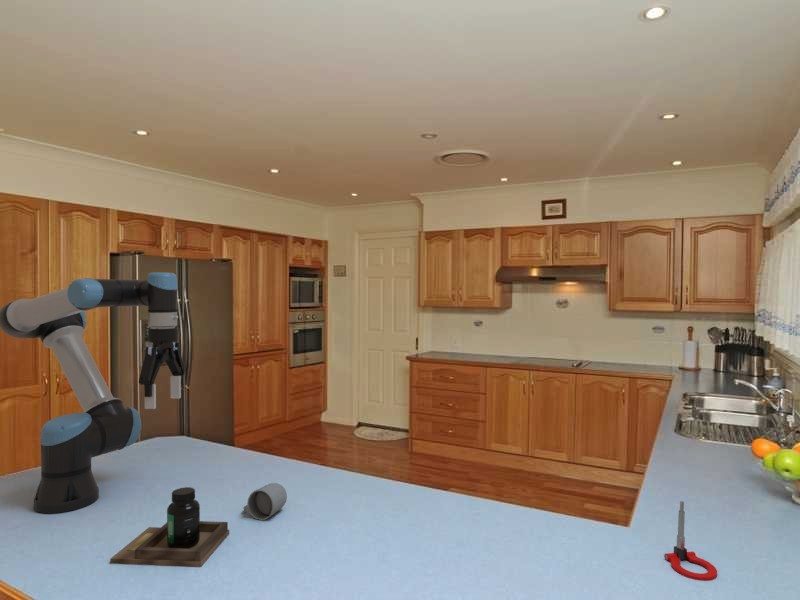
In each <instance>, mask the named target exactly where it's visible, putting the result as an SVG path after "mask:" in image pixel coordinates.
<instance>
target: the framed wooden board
mask: <svg viewBox="0 0 800 600" xmlns="http://www.w3.org/2000/svg"><path fill="white" fill-rule="evenodd" d="M228 524H229V523H228V521H210V520H209V521H205V520H204V521H202V520H200V540H199V542H198V544H197V545H195V546H194V547H192V548H189V549H182V548H169V547H168V545H167V522H165V523H164V524H163V525H162V526H161V527H156V526H155V527H153V526H148V527H147V528H146V529H145V530H143V531H142V532H141V533H140V534H139V535H138V536H136V537H135V538H134V539H133V540H131V541H130V542H129V543H127V544H126V545H125V546H124V547H123V548H122V549H121V550H119V551H118V552H117V553H116V554H114V555H113V556H112V557H111V558H110V559H109V560H110V561H109V562H110V564H119V565H143V566H145V565H146V566H148V565H149V566H167V567H168V566H171V567H192V568H193V567H195V568H201V567H203V565H204V564H205V563H206V562H207V561H208V560H209V558H210V557H211V556H213V554H214V552H216V550H217V549H218V548H219V547H220V546H221V544H222V543H224V541H225V540H226V539H227V537H228V536H229V535H230V529H228Z"/></svg>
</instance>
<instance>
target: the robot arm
mask: <svg viewBox="0 0 800 600" xmlns="http://www.w3.org/2000/svg"><path fill="white" fill-rule="evenodd" d="M177 279H178V278H177V275H176V274H175V272H161V271H157V272H154V271H153V272H149V273H148V274H147V278H146V279H119V278H118V279H116V278H115V279H108V278H107V279H105V278H92V277H91V278H90V277H89V278H76V279H74V280H73V281H71V283H70V284H69V285H68V287H65V288H62V289H60V290H56V291H54V292H53V291H52V292H49V293H47V294H44V295H40V296H37V297H35V298H31V299H27V298H20V299H16V300H13V301H10V302H8V303H6V304H4V305H3V306H2V307H1V308H0V329H1V331H3V333H5V334H6V335H8V336H11V337H12V338H16V339H38V338H39V339H40V340H41V343H42V345H43V346H44V347H45V348H46V349H51V350H52V352H53V354H54V356H55V358H56V360H57V361H58V363H59V366H60V367H61V370H62V372H63V373H64V375H65V378H66V379H67V382H68V383H69V385H70V387H71V389H72V392H73V394H74V395H75V397H76V399H77V400H78V403H79V405H80V407H81V409H82V410H83V412H73V413H71V414H63V415H60V416H58V417H57V416H56V417H53V418H52V419H49V420H47V421H46V422H45V423H44V425H43V426H42V427H41V432H40V439H39V443H40V464H41V465H40V468H41V469H40V473H41V475H40V476H41V477H40V482H39V485H38V486H37V489H36V493H35V496H34V497H33V498H34V499H33V510H34V511H35V512H37V513H39V514H40V513H41V514H61V513H66V512H71V511H75V510H79V509H82V508H84V507H87V506H90V505H91V504H93V503H95V502H96V501H97V500H98V499H99V497H100V492H99V491H100V490H99V486H98V485H97V481H96V478H95V476H94V474H93V472H92V458H95V457H98V456H102V455H105V454H109V453H112V452H115V451H120V450H123V449H125V448H128V447H130V446H132V445H134V444H135V443H136V442H137V440H138V439H139V437H140V435H141V431H142V430H141V429H142V419H141V415H140V413H139V411H138V410H137V409H136V408H134V407H131V406H127V407H125V405H124V402H123V401H122V399H120V398H118V397H114V396H113V394H112V392H111V390H110V388H109V386H108V384H107V382H106V380H105V379H104V377H103V375H102V373H101V371H100V369H99V367H98V365H97V363H96V362H95V360H94V358H93V356H92V354H91V352H90V350H89V348H88V347H87V345H86V342H85V341H84V339H83V336H84V334H85V329H86V325H87V320H86V319H87V316H86V313H85V312H86V311H90V310H94V309H97V308H109V307H111V308H113V307H147V326H148V327H150V328H149V329H148V331H147V333H148V334H147V340H148V342H149V343H152V346H147V347H145V351H144V353H145V354H144V359H143V363H142V368H141V370H140V375H139V378H138V383H139V385H143V386H144V388H143V389H144V410H145V409H146V410H155V409H156V408H157V397H156V396H157V395H156V394H157V390H156V388H157V386H156V385H157V384H156V383H155V381H156V378H157V376H158V373H159V370H160V368H161V366H162V364H164V362H165V363H166V365H167V367H168V369H169V371H170V373H171V376H170V380H169V381H170V399H181V397H182V393H181V392H182V386H181V385H182V384H181V383H182V381H181V379H182V376H185V371H186V369H185V366H184V361H183V358H182V354H181V350H180V348H181V347H180V342H178V337H179V336H178V329H177V326H178V319H179V315H178V289H179V288H178V280H177Z"/></svg>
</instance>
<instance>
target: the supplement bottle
mask: <svg viewBox="0 0 800 600" xmlns="http://www.w3.org/2000/svg"><path fill="white" fill-rule="evenodd" d="M195 498H196V490H195V488H194V487H188V486H187V487H185V486H184V487H180V488H176V489H175V490H173V491H172V492H171V503H169V505H168V507H167V510H166V523H167V545H168V547H169V548H182V549H189V548H192V547H194V546H195V545H197V544H198V542H199V540H200V521H201V517H200V516H201V513H200V512H201V511H200V509H201V507H200V503H199V501H198V500H196V499H195Z"/></svg>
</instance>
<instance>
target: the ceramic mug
mask: <svg viewBox="0 0 800 600" xmlns="http://www.w3.org/2000/svg"><path fill="white" fill-rule="evenodd" d="M287 499H288V495H287V491H286V489H285V487H284V486H283V485H281V484H280V483H278V482H271V483H268V484H265V485H264V486H261V487H260V488H256V490H254V491H252V492H251V494H249V497H248V499H247V504H246V505H244V506H243V511H244V513H245V514H247V513H249V514H250V516H252V517H253V518H254V519H256V520H258V519H259V520H258V521H266V520H268V519H269V518H271V517H272V516H273V515H275V514H276V513H277V512H279V511H280V510H281V509H282V508H283V507H284V506H285V504H286V503H287Z"/></svg>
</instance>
